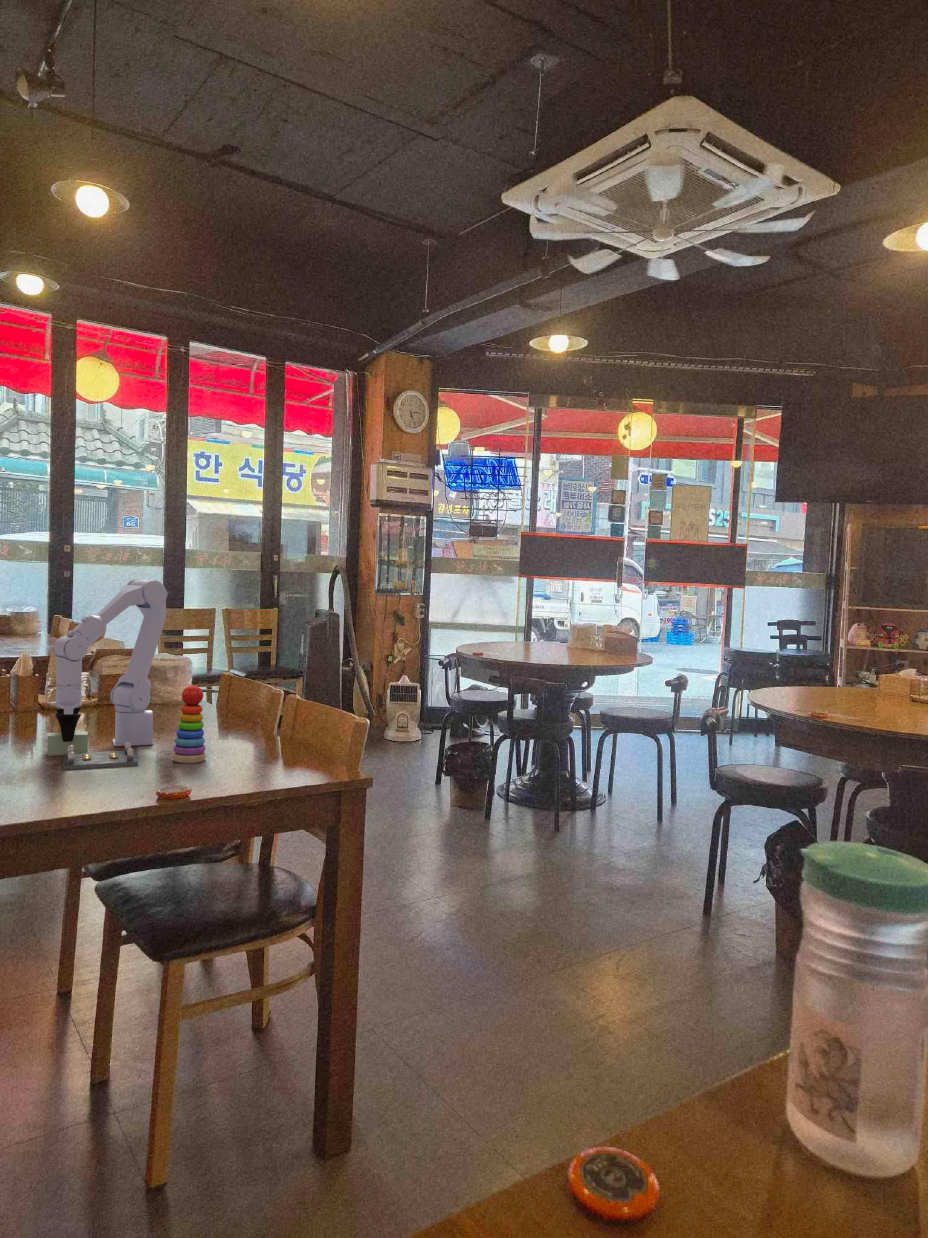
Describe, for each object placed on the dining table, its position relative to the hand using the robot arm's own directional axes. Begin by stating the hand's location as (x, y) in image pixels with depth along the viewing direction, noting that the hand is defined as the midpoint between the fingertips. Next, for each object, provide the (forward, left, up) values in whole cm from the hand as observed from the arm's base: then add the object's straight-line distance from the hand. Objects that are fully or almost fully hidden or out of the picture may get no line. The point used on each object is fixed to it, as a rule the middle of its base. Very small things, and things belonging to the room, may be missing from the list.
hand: (67, 738), depth 206 cm
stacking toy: (-27, +16, -4) cm, 32 cm away
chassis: (-7, +12, -4) cm, 14 cm away
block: (0, 0, -4) cm, 4 cm away
